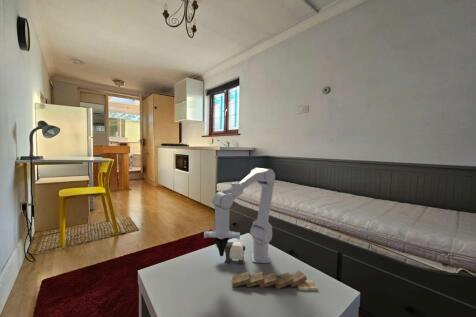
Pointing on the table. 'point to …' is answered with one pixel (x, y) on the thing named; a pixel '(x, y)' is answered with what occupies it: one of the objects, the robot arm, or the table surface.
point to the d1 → (241, 279)
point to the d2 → (256, 279)
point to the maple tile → (307, 285)
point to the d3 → (269, 280)
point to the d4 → (284, 280)
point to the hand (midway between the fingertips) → (221, 254)
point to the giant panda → (234, 252)
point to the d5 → (297, 278)
